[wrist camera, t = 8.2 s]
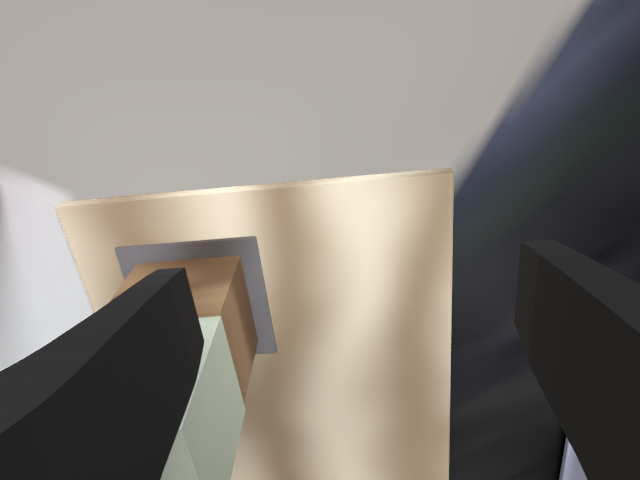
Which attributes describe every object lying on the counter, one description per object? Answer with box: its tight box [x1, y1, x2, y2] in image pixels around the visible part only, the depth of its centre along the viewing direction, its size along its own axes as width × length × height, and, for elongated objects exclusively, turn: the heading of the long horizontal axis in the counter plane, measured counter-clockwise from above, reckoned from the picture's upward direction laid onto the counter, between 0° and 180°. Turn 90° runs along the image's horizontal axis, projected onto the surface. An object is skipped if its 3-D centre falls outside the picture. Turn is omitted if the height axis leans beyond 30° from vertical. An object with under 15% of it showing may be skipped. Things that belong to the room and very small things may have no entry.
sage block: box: [160, 316, 246, 480], centre depth 17 cm, size 4×4×5 cm
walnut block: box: [110, 256, 258, 402], centre depth 21 cm, size 4×4×4 cm
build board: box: [55, 168, 454, 480], centre depth 25 cm, size 16×20×1 cm
